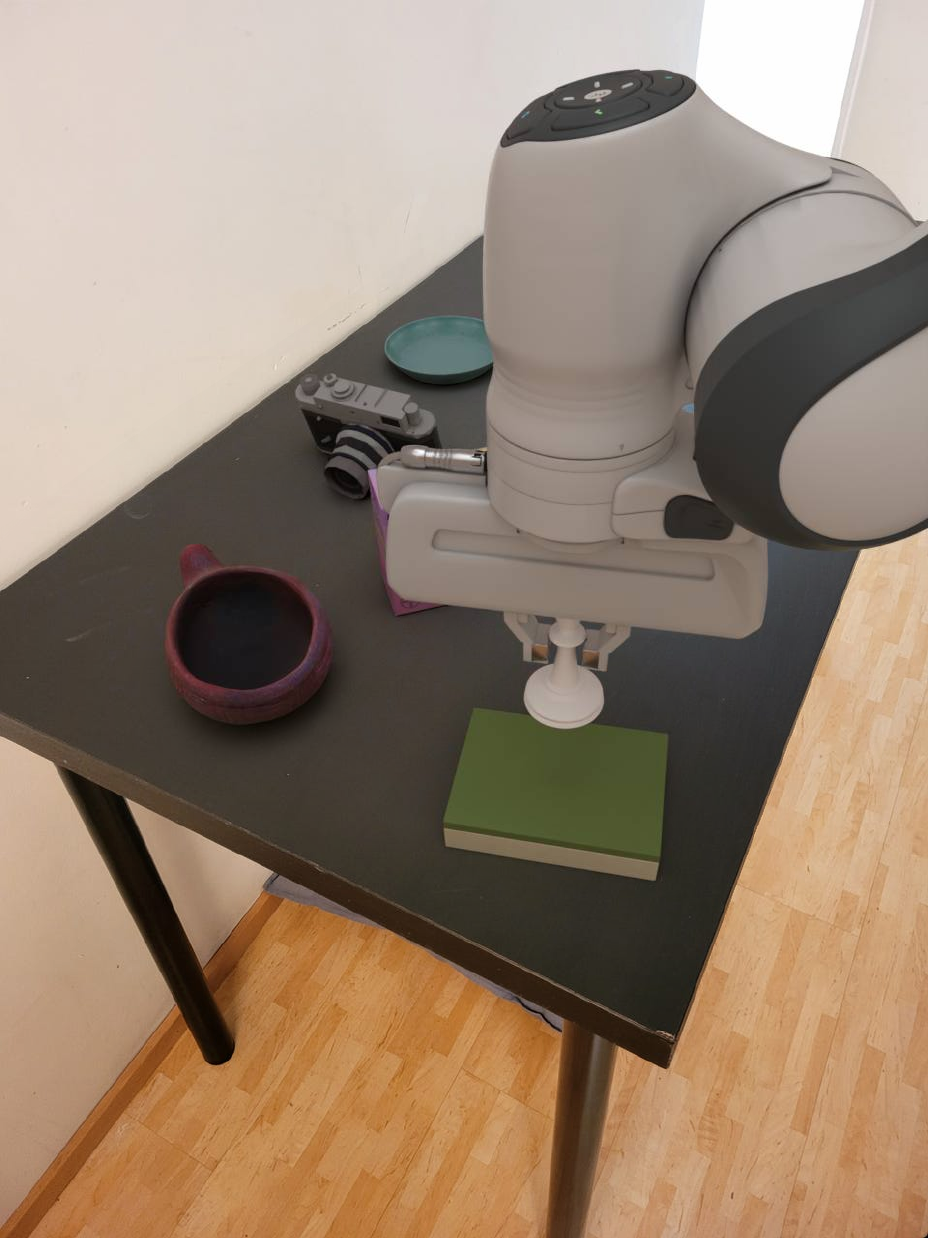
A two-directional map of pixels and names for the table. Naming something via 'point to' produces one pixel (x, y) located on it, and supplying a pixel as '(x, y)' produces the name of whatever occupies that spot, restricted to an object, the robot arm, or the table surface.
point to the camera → (360, 427)
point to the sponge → (560, 794)
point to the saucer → (441, 349)
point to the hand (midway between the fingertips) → (566, 658)
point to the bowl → (245, 640)
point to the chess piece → (564, 683)
